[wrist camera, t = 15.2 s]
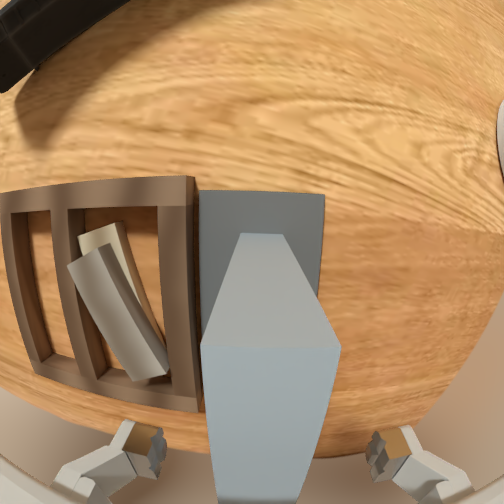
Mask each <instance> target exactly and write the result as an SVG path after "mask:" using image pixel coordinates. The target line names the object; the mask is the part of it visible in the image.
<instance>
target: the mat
mask: <svg viewBox="0 0 504 504" xmlns="http://www.w3.org/2000/svg"><path fill="white" fill-rule="evenodd" d="M324 202H325V195H324V194H309V193H291V192H268V191H230V190H199V274H200V305H201V327H202V338H203V335H204V333H205V330H206V327H207V324H208V321H209V318H210V316H211V313H212V310H213V307H214V305H215V302H216V299H217V296H218V294H219V291H220V288H221V285H222V283H223V280H224V277H225V274H226V272H227V269H228V266H229V263H230V261H231V258H232V255H233V253H234V250H235V247H236V245H237V242H238V239H239V237H240V234H241V233H261V234H283V236H284V238H285V239H286V241H287V243H288V245H289V247H290V249H291V250H292V252H293V254H294V256H295V258H296V260H297V261H298V263H299V265H300V267H301V269H302V271H303V273H304V275H305V276H306V278H307V280H308V282H309V284H310V286H311V288H312V290H313V292H314V294H315V295H316V297H317V291H318V281H319V271H320V260H321V248H322V235H323V220H324Z"/></svg>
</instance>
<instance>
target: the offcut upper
mask: <svg viewBox="0 0 504 504" xmlns="http://www.w3.org/2000/svg"><path fill="white" fill-rule="evenodd" d="M67 267H68V270H69V272H70V274H71V276H72V278H73V280H74V283H75V285H76V287H77V289H78V291H79V293H80V295H81V297H82V299H83V301H84V303H85V305H86V306H87V308H88V310H89V312H90V314H91V316H92V317H93V319H94V321H95V323H96V325H97V326H98V328H99V330H100V332H101V333H102V335H103V337H104V338H105V340H106V342H107V343H108V345H109V346H110V348H111V350H112V351H113V353H114V354H115V356H116V357H117V359H118V361H119V362H120V364H121V365H122V367H123V368H124V369H125V371H126V372H127V374H128V375H129V377H130V378H131V380H132V381H138V380H143V379H147V378H151V377H156V376H160V375H164V374H167V372H168V369H169V367H170V366H169V359H168V352H167V350H166V349H165V347H164V345H163V344H162V342H161V340H160V339H159V337H158V335H157V334H156V332H155V330H154V328H153V327H152V325H151V323H150V321H149V320H148V318H147V316H146V314H145V312H144V311H143V309H142V307H141V305H140V303H139V301H138V299H137V297H136V296H135V294H134V292H133V290H132V288H131V286H130V284H129V282H128V280H127V278H126V276H125V274H124V272H123V270H122V267H121V265H120V263H119V261H118V259H117V257H116V255H115V252H114V250H113V248H112V246H111V243H108V244H105V245H103V246H100V247H98V248H96V249H94V250H93V251H91V252H89V253H87V254H86V255H84V256H82V257H80V258H79V259H77V260H75V261H74V262H72V263H70V264H69V265H67Z"/></svg>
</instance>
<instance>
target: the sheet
mask: <svg viewBox="0 0 504 504" xmlns="http://www.w3.org/2000/svg"><path fill="white" fill-rule="evenodd" d="M200 349H201V363H202V375H203V387H204V398H205V408H206V418H207V427H208V435H209V443H210V451H211V458H212V465H213V472H214V479H215V486H216V492H217V498H218V503H219V504H296V501H297V499H298V496H299V494H300V491H301V489H302V486H303V483H304V481H305V478H306V475H307V472H308V469H309V467H310V463H311V461H312V458H313V455H314V452H315V449H316V445H317V442H318V439H319V436H320V432H321V429H322V426H323V422H324V419H325V415H326V411H327V408H328V404H329V400H330V396H331V392H332V388H333V384H334V380H335V375H336V371H337V366H338V362H339V357H340V352H341V345H340V343H339V341H338V339H337V337H336V335H335V333H334V331H333V329H332V327H331V325H330V323H329V321H328V319H327V317H326V315H325V313H324V311H323V309H322V307H321V305H320V303H319V301H318V299H317V297H316V295H315V294H314V292H313V290H312V288H311V286H310V284H309V282H308V280H307V278H306V276H305V275H304V273H303V271H302V269H301V267H300V265H299V263H298V261H297V260H296V258H295V256H294V254H293V252H292V250H291V249H290V247H289V245H288V243H287V241H286V239H285V238H284V236H283V234H261V233H241V234H240V237H239V239H238V242H237V245H236V247H235V250H234V253H233V255H232V258H231V261H230V263H229V266H228V269H227V272H226V274H225V277H224V280H223V283H222V285H221V288H220V291H219V294H218V296H217V299H216V302H215V305H214V307H213V310H212V313H211V316H210V318H209V321H208V324H207V327H206V330H205V333H204V335H203V338H202V341H201V344H200Z"/></svg>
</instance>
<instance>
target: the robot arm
mask: <svg viewBox="0 0 504 504" xmlns="http://www.w3.org/2000/svg"><path fill="white" fill-rule="evenodd" d="M497 140H498V150H499V156H500V162H501V167H502V171H503V175H504V100H503V102H502V103H501V105H500V108H499V112H498V119H497ZM163 434H164V432H163V429H162V428H160V427H156V426H152V425H147V424H143V423H140V422H136V421H132V420H128V419H125V420H124V421H123V422H122V424H121V425H120V427H119V429H118V431H117V433H116V434H115V436H114V438H113V440H112V442H111V444H110V445H109V446H104V447H102V448H100V449H98V450H96V451H94V452H91V453H89V454H87V455H85V456H83V457H81V458H79V459H77V460H75V461H72V462H70V463H68V464H66V465H63V467H62V468H61V470H60V471H59V473H58V474H57V476H56V478H55V479H54V481H53V483H52V484H51V486H50V487H49V486H47V485H46V484H44V483H42V482H41V481H39V480H37V479H36V478H34V477H33V476H31V475H30V474H28V473H26V472H25V471H23V470H22V469H20V468H19V467H18V466H16V465H15V464H13V463H12V462H10V461H9V460H8V459H6V458H5V457H4V456H3V455H1V454H0V504H113V503H112V502H111V501H110V500H109V499H108V497H109V496H110V495H112V494H113V493H115V492H116V491H118V490H119V489H121V488H122V487H123V486H125V485H126V484H128V483H129V482H130V481H132V480H133V479H134V478H136V477H137V475H139V476H143V477H147V478H151V479H156V480H158V477H159V474H160V471H161V468H162V467H161V465H160V462H162V461H163V460H164V459H165V456H166V452H167V443H166V439H164V438H163V437H162V436H163ZM372 439H373V440H372V441H371V442H370V443H368V445H367V448H366V460H367V463H368V464H369V465H371V466H372V468H371V470H370V473H371V476H372V480H373V483H376V482H381V481H386V480H390V479H392V481H394V482H395V483H396V484H397V485H398V486H400V487H401V488H402V489H403V490H404V491H405V492H407V493H408V494H409V495H410V496H412V497H413V498H414V499H415V500H416V501H418V502H419V503H418V504H504V474H503V475H502V476H500V477H499V478H497V479H495V480H494V481H492V482H491V483H489V484H487V485H486V486H484V487H482V488H480V489H479V490H477V491H475V490H474V488H473V486H472V484H471V483H470V481H469V479H468V477H467V475H466V473H465V471H463V470H461V469H459V468H457V467H455V466H453V465H452V464H450V463H448V462H446V461H444V460H443V459H441V458H439V457H437V456H435V455H433V454H432V453H430V452H428V451H423V449H422V447H421V445H420V443H419V441H418V439H417V437H416V435H415V433H414V431H413V429H412V428H411V426H410V425H405V426H400V427H394V428H389V429H384V430H379V431H375V432H374V433H373V435H372Z"/></svg>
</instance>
